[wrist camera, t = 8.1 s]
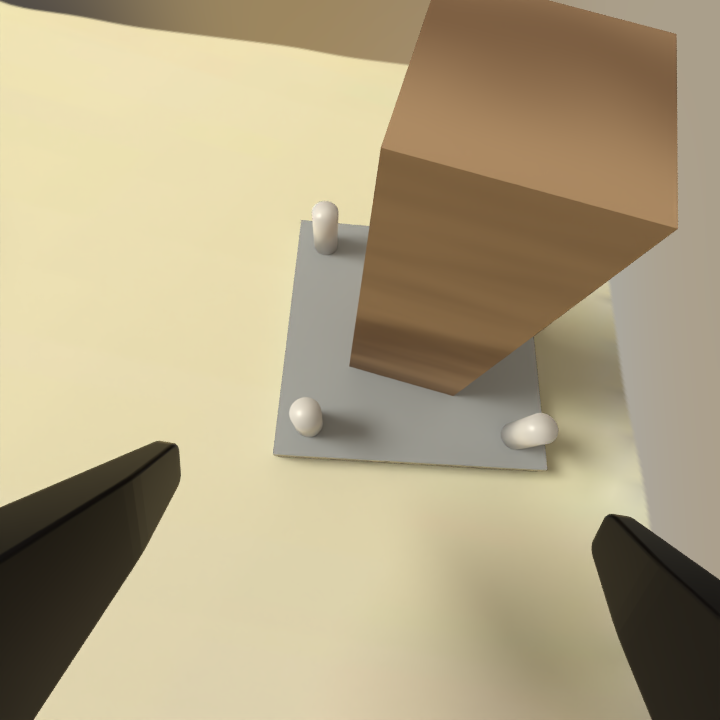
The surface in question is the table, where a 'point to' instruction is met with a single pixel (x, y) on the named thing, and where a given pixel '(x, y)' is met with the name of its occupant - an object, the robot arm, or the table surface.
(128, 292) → the table surface
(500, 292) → the walnut block
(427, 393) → the peg stand
